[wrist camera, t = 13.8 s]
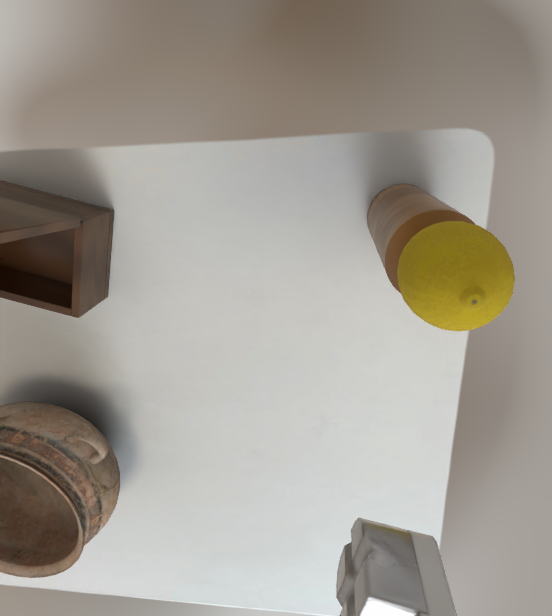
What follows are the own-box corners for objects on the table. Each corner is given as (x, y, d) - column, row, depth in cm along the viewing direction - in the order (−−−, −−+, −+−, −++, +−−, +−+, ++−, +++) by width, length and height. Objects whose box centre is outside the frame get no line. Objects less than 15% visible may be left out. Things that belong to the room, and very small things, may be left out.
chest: (107, 297, 46) (78, 318, 41) (-3, 267, 46) (-47, 285, 41) (114, 210, 42) (83, 221, 37) (-7, 179, 42) (-55, 185, 37)
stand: (379, 176, 38) (404, 198, 25) (444, 193, 38) (502, 223, 25) (358, 240, 40) (372, 289, 28) (420, 255, 40) (462, 313, 27)
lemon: (407, 199, 25) (439, 226, 18) (497, 223, 25) (567, 261, 18) (376, 283, 27) (393, 338, 20) (459, 306, 27) (507, 370, 20)
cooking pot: (61, 521, 61) (0, 609, 50) (-42, 430, 56) (-134, 504, 45) (187, 449, 53) (149, 534, 42) (80, 336, 48) (5, 397, 37)
